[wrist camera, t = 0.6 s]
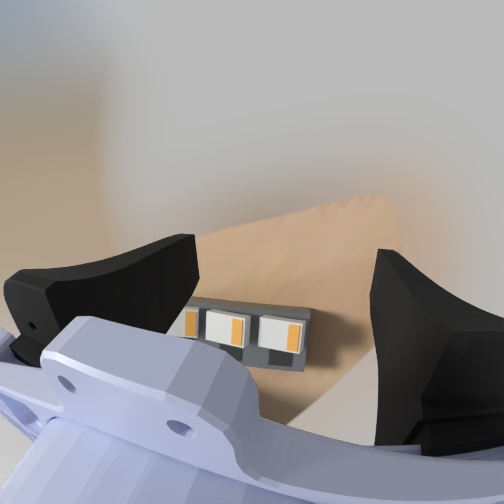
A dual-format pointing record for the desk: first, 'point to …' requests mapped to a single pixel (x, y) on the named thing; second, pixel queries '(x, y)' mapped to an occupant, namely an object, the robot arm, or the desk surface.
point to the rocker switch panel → (254, 333)
